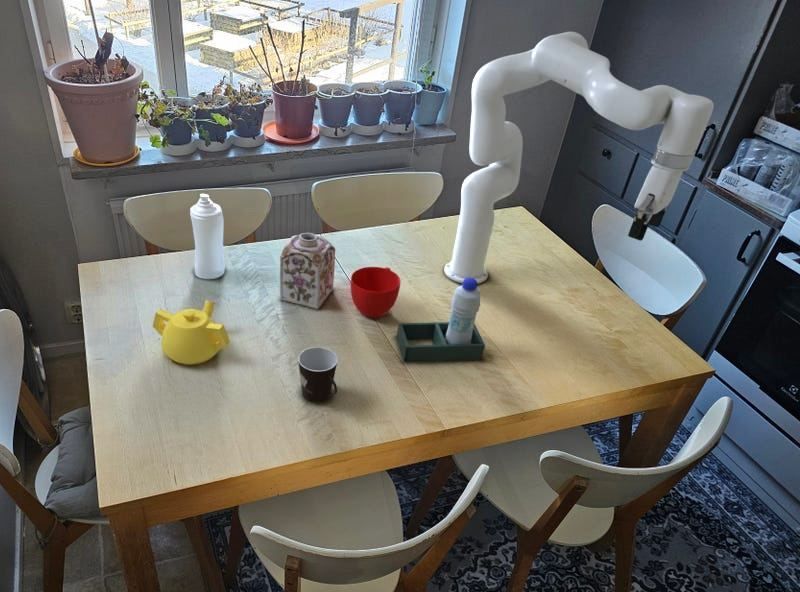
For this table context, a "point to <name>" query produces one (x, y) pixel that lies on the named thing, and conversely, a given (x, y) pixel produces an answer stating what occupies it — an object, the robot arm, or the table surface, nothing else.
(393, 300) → the ceramic cup
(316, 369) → the coffee mug
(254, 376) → the table surface
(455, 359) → the tray
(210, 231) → the spray can
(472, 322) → the bottle
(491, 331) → the table surface
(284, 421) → the table surface
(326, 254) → the decorative jar
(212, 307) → the teapot
